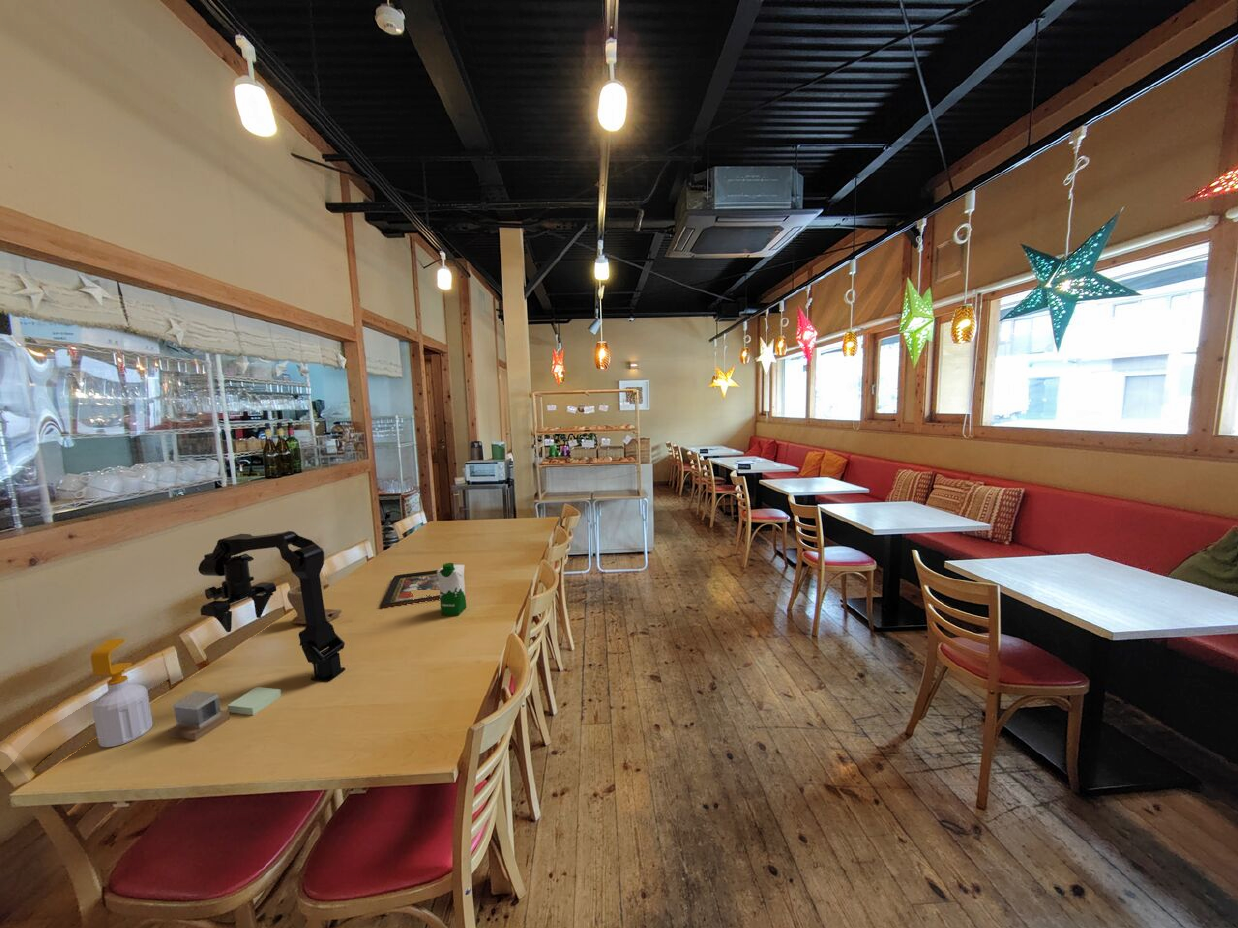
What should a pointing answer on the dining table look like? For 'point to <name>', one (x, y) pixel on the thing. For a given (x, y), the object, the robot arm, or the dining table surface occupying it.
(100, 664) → the soap bottle
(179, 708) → the housing
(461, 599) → the milk carton
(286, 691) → the dining table surface
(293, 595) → the stone cup
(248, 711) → the stand green
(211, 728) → the stand walnut
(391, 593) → the religious icon
